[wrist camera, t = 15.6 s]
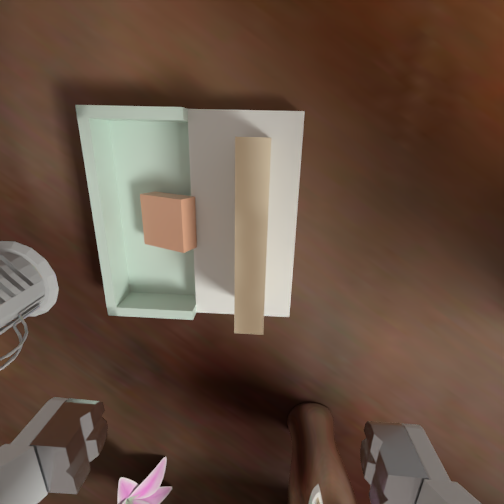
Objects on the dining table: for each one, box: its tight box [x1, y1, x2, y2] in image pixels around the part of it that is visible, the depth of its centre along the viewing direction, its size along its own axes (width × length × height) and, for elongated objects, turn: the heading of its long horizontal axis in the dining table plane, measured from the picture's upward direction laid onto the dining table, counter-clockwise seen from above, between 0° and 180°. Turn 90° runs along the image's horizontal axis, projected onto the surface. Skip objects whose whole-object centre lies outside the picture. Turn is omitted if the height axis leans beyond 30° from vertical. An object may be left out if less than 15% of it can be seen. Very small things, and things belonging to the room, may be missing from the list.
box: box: [75, 105, 196, 320], centre depth 31 cm, size 9×20×4 cm, turn 179°
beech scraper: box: [234, 137, 271, 335], centre depth 27 cm, size 2×16×6 cm, turn 179°
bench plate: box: [187, 109, 305, 317], centre depth 31 cm, size 10×20×2 cm, turn 179°
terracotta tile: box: [140, 191, 197, 253], centre depth 30 cm, size 5×5×2 cm
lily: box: [118, 456, 172, 504], centre depth 43 cm, size 12×12×10 cm
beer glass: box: [287, 403, 357, 504], centre depth 34 cm, size 7×7×15 cm
